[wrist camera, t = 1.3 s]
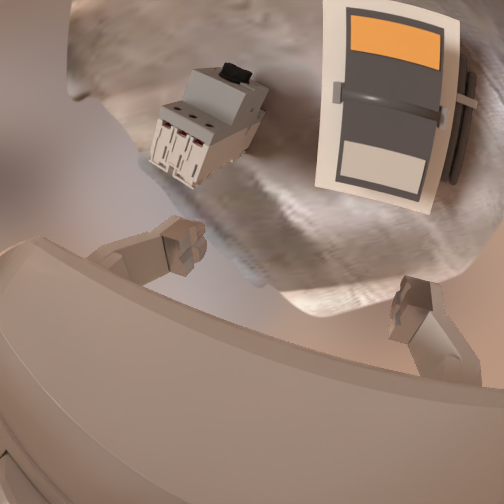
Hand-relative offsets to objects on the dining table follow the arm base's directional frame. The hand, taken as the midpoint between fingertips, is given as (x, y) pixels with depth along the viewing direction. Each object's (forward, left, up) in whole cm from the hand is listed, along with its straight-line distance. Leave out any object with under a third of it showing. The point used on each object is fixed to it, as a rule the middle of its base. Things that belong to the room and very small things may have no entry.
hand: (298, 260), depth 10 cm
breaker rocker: (-5, +4, -22) cm, 23 cm away
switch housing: (-5, +4, -31) cm, 32 cm away
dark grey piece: (-5, +15, -31) cm, 35 cm away
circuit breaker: (-1, -17, -32) cm, 36 cm away
